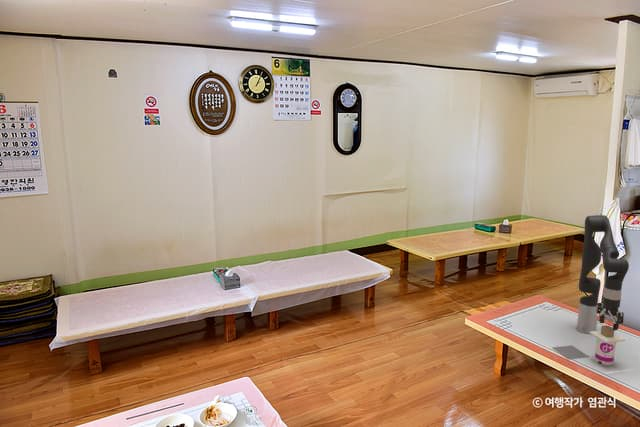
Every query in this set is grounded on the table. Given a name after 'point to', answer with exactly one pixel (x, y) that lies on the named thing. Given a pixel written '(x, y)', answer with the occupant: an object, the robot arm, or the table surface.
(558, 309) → the table surface
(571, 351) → the rubber mat
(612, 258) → the robot arm
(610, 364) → the supplement can
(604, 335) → the board
